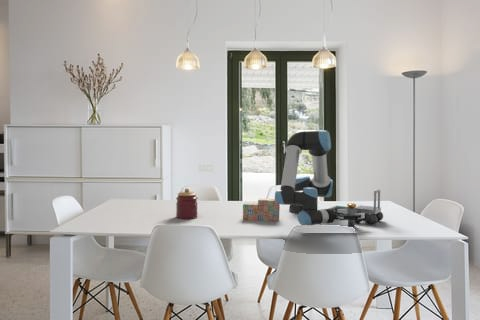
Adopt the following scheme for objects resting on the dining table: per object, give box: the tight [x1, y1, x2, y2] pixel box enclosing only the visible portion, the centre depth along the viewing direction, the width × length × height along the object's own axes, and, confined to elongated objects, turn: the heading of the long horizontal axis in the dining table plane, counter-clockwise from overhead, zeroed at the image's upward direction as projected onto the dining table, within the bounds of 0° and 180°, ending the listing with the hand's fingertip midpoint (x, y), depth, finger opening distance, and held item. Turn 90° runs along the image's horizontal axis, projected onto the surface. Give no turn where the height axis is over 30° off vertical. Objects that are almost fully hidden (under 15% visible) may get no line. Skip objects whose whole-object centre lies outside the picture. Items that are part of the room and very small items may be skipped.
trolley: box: [355, 189, 384, 226], centre depth 214 cm, size 14×15×19 cm
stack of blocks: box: [242, 198, 281, 222], centre depth 219 cm, size 21×6×12 cm, turn 78°
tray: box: [327, 205, 348, 215], centre depth 239 cm, size 16×16×3 cm
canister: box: [175, 187, 198, 220], centre depth 224 cm, size 13×13×18 cm
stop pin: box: [346, 203, 357, 227], centre depth 203 cm, size 5×5×12 cm
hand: (355, 213), depth 204 cm, fingers open, 13 cm apart
